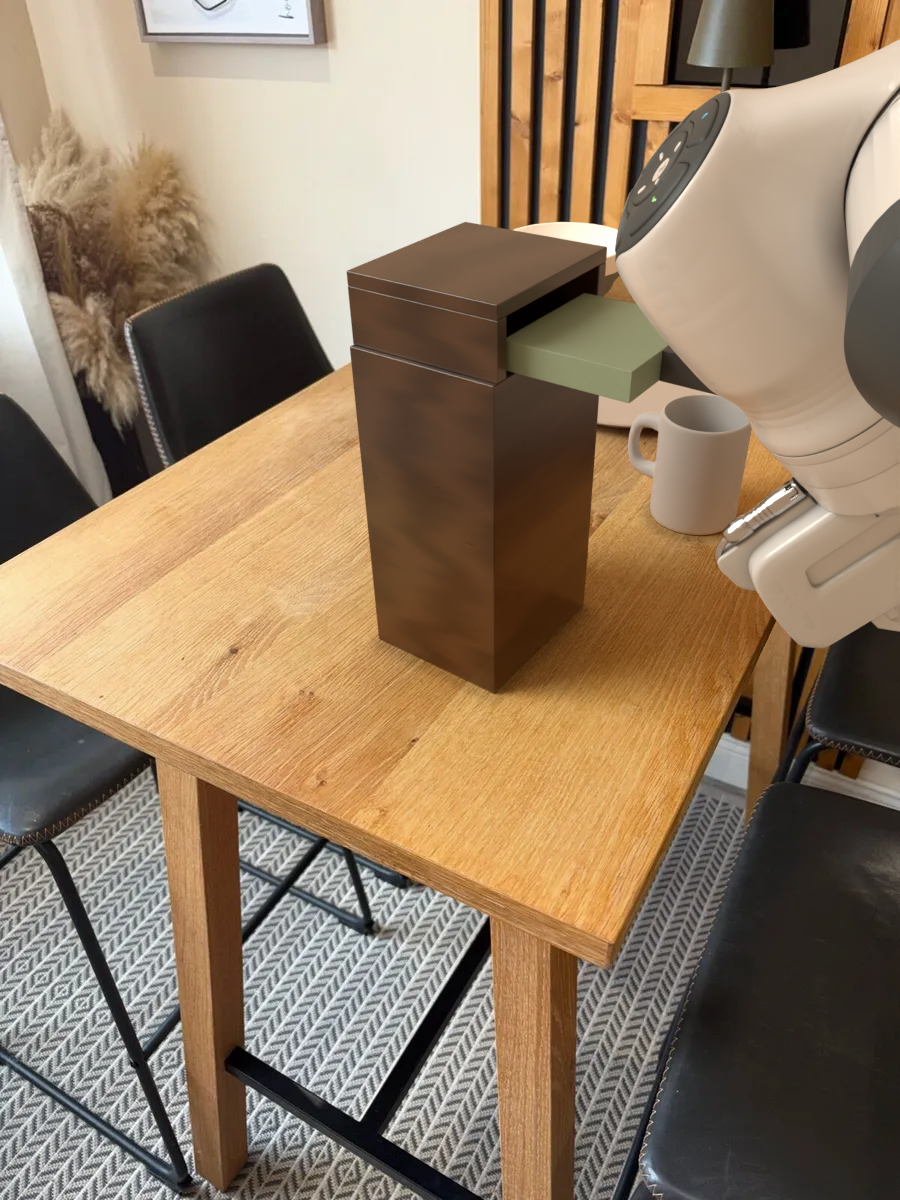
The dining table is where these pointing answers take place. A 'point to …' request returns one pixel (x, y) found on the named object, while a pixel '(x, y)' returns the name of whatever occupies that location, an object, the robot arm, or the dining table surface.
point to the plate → (640, 404)
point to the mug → (694, 462)
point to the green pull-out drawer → (598, 350)
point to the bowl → (583, 240)
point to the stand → (471, 447)
